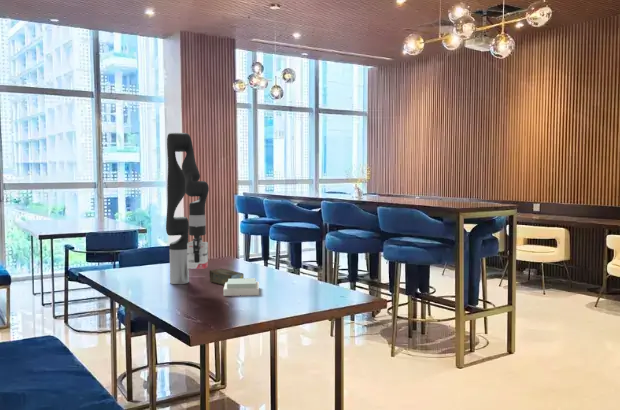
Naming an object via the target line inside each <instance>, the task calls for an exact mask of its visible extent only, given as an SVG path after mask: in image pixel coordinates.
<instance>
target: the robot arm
mask: <svg viewBox="0 0 620 410" xmlns="http://www.w3.org/2000/svg"><path fill="white" fill-rule="evenodd" d="M166 150H167V183H166V184H167V185H166V190H167V195H166V197H167V204H166V205H167V206H166V207H167V208H166V219H165V232H166V234H167V236H170V237H171V236H172V237H173V236H175V237H176V236H180V237H179V238H178V239H177V240H174V241H172V242H170V243H169V283H170V284H171V285H172V284H173V285H183V284H189V281H190V277H189V275H190V272H189V270H190V268H187V243H188V242H189V236H192V237H194V238H193V239H192V242H193V254H194V262H195V263H199V254H200V249H201V244H200V246H199V243H201V242H203V237H201V236H205V235H207V234H206V233H207V232H206V230H207V229H206V228H207V227H206V226H207V225H206V202H207V198H208V194H209V189H210V186H209V184H208V182H207V181H204V180H200V179H201V174H200V172H199V168H198V165H197V163H196V158H195V152H194V146H193V141H192V138H191V136H190V134H189V133H187V132H169V133H168V134H167V137H166ZM177 152H179V153H181V152H183V153H184V152H185V153H186V154H185V157H184V159H183V161H182V163H181V166H180V165H179V163H178V161H177V156H176V153H177ZM185 195H187V196H188V197H193V198H194V197H198V199H197V200H195V201H191V202H189V205H188V207H189V208H188V209H189V210H188V211H189V213H188V214H189V217H186V216H175V213H176V210H177V208H178V206H179V204H180V203H181V201H182V200H183V198H184V197H185ZM196 249H198V251H195V250H196Z"/></svg>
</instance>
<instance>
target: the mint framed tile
mask: <svg viewBox="0 0 620 410" xmlns="http://www.w3.org/2000/svg"><path fill="white" fill-rule="evenodd" d="M223 286H224V287H223V295H222V296H223V297H229V296H231V297H233V296H234V297H235V296H236V297H238V296H239V297H240V295H241V296H260V282H259V281H257V278H255V277H253V278H252V277H251V278H249V277H248V278H246V277H245V278H242V279H228V282H225V285H223Z"/></svg>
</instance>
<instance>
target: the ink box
mask: <svg viewBox="0 0 620 410" xmlns="http://www.w3.org/2000/svg"><path fill="white" fill-rule="evenodd" d="M200 244H201V249H200V254H199V263H195V262H194V254H193V241H188V243H187V268H189V269H190V270H191V269H193V270H194V269H199V270H201V269H202V270H203V269H207V268H208V267H209V266H208V265H209V263H208V262H209V256H208V255H209V253H208V251H209V250H208V249H209V247H208V245H209V244H208V241H202V242H201V243H199V246H200ZM195 251H198V249H196V250H195Z"/></svg>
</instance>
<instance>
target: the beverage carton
mask: <svg viewBox="0 0 620 410" xmlns="http://www.w3.org/2000/svg"><path fill="white" fill-rule="evenodd" d="M242 278H244V273H242V272H239V271H234V270H230V269H226V268H216V269H211V270H210V269H209V282H210V283H213V284H214V283H215V284H218V285H222V286H225V282H228V279H242Z"/></svg>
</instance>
